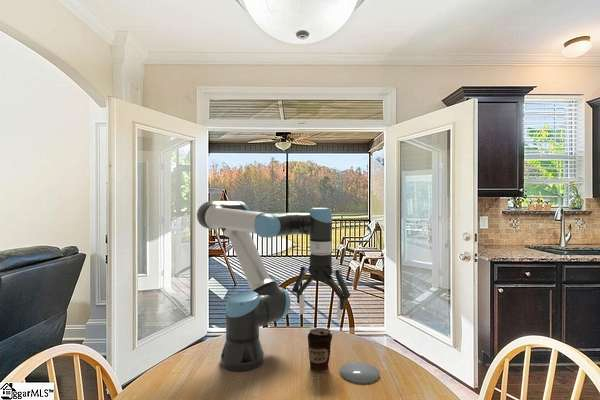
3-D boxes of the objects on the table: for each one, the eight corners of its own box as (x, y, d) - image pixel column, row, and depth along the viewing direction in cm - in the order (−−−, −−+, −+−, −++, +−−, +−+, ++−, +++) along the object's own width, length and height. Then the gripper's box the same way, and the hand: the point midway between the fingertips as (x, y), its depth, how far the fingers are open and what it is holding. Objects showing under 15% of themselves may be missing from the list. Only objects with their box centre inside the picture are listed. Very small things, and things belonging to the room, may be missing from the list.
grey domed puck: (334, 378, 113) (334, 375, 113) (346, 361, 125) (346, 358, 125) (374, 387, 107) (374, 384, 107) (382, 368, 119) (383, 366, 119)
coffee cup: (330, 377, 113) (330, 337, 113) (305, 374, 115) (305, 334, 115) (333, 364, 122) (333, 327, 122) (309, 362, 124) (310, 325, 124)
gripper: (282, 252, 120) (282, 314, 120) (353, 257, 110) (353, 325, 110) (292, 249, 127) (291, 307, 127) (359, 254, 117) (359, 317, 117)
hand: (320, 316), depth 118 cm, fingers open, 13 cm apart
